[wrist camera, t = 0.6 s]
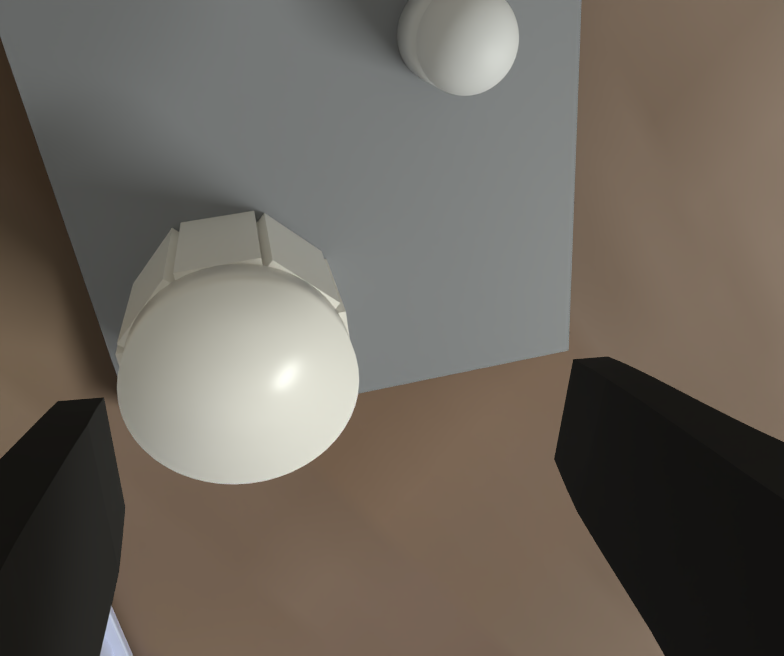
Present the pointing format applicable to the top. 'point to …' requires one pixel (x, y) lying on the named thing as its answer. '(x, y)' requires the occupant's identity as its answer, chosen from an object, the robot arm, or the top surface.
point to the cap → (235, 352)
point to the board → (325, 154)
